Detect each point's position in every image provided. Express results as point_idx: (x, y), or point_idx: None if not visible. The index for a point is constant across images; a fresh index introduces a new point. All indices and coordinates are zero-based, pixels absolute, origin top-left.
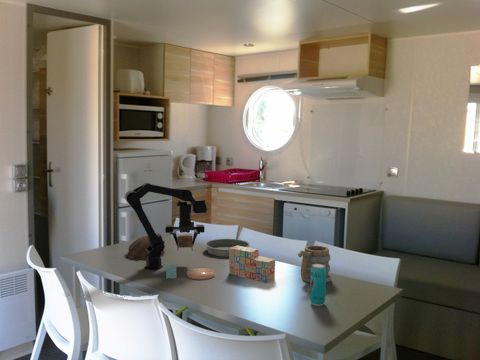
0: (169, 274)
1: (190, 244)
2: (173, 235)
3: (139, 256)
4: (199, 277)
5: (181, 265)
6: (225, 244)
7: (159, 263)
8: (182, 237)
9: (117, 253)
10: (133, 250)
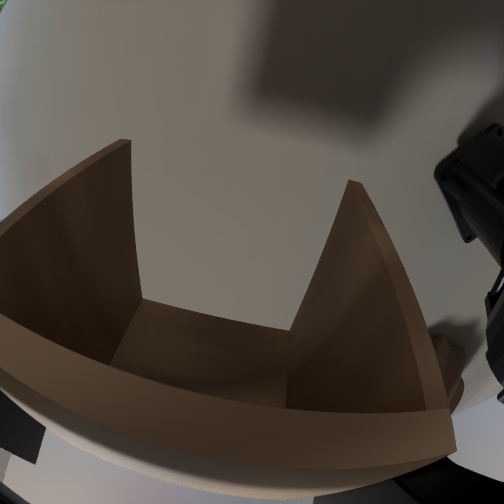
0: None
1: (142, 327)
2: (459, 475)
3: (449, 353)
4: None
5: (284, 156)
6: None
7: (486, 150)
8: (246, 426)
9: None
10: (459, 384)
